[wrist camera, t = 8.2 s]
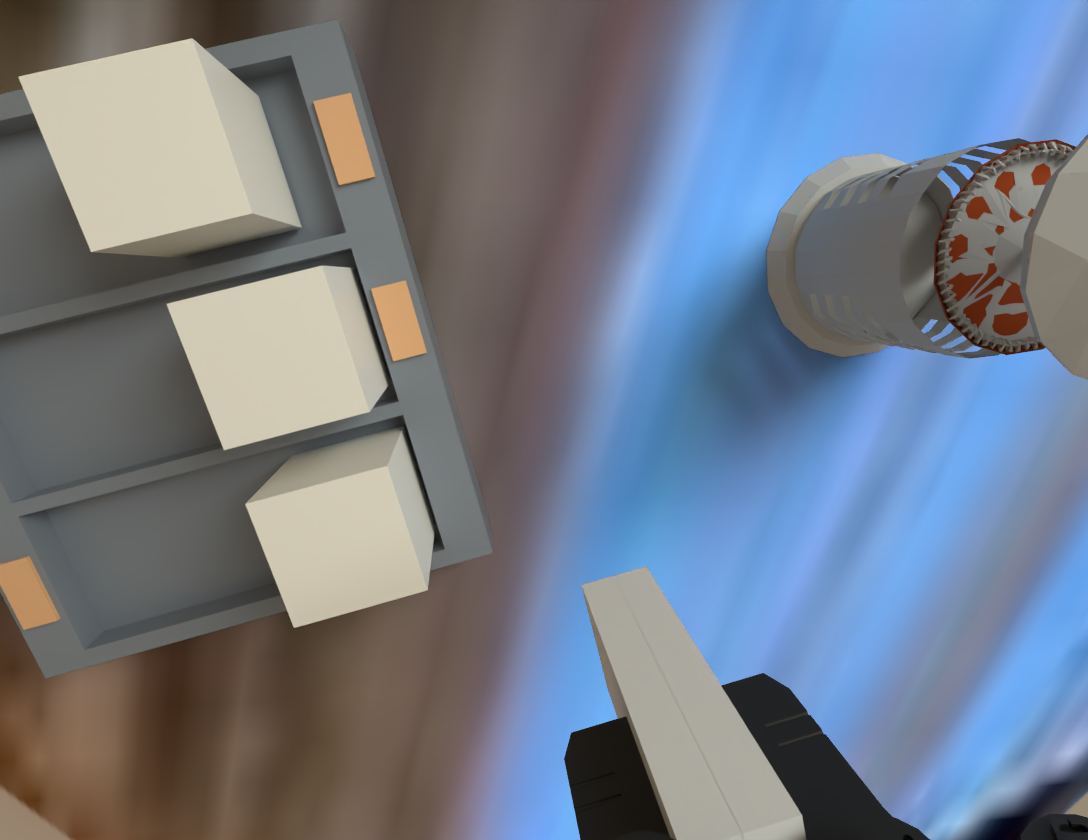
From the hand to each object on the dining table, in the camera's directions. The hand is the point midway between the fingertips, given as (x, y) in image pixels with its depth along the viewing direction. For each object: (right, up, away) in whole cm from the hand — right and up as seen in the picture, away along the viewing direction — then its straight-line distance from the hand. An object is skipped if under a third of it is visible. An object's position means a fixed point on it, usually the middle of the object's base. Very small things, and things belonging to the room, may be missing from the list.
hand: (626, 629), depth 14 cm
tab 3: (-10, +1, +14) cm, 17 cm away
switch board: (-17, +7, +14) cm, 23 cm away
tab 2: (-12, +8, +12) cm, 19 cm away
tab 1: (-15, +14, +10) cm, 23 cm away
